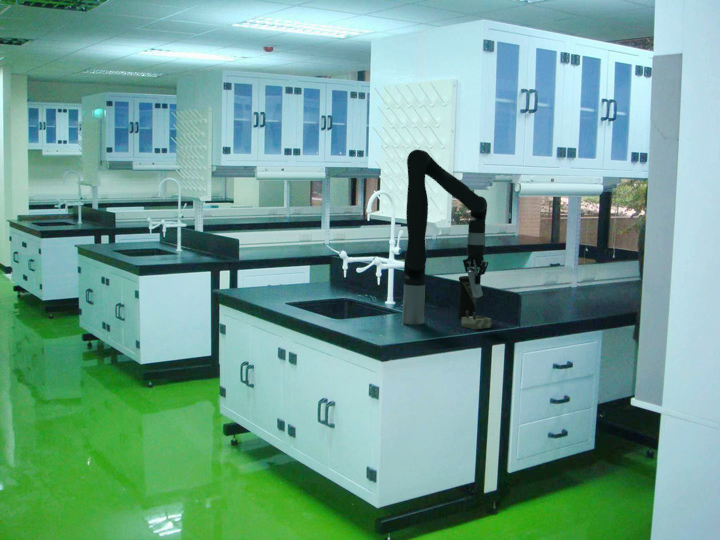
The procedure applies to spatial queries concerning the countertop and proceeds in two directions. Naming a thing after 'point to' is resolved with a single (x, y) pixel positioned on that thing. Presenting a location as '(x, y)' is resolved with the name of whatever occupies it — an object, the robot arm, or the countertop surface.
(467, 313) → the slot block
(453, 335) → the countertop surface
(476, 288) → the grey rectangular bar
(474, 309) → the container
